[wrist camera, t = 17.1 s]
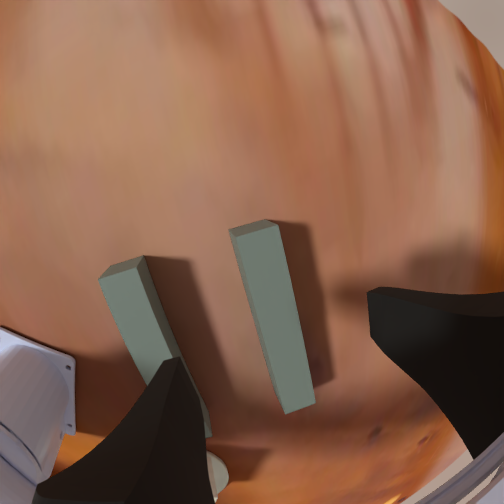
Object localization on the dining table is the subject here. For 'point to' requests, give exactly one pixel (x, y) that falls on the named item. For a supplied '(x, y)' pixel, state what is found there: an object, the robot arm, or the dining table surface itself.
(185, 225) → the dining table surface
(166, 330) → the slot holder
